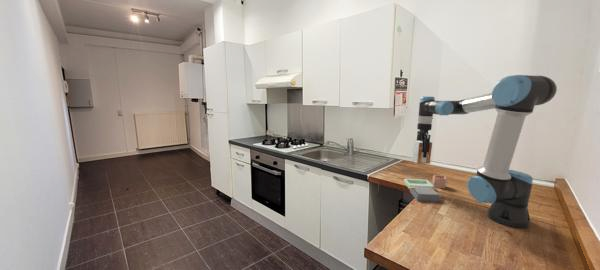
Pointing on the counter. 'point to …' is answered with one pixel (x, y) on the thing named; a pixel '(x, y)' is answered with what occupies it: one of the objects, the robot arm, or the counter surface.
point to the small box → (417, 152)
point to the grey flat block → (424, 196)
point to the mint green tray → (417, 183)
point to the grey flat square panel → (425, 190)
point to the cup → (439, 181)
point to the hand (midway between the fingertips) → (420, 160)
